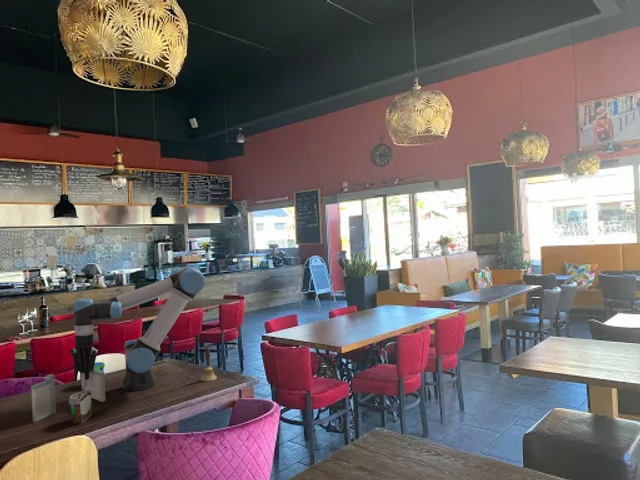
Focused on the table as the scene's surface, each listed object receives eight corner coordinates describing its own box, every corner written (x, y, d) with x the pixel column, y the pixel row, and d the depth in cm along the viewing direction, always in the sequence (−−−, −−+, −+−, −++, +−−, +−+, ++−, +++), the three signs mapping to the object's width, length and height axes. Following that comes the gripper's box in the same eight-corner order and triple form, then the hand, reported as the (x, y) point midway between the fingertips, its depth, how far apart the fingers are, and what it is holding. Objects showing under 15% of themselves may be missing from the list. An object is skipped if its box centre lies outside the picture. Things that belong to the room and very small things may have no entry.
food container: (77, 415, 196) (76, 390, 196) (92, 413, 196) (91, 389, 196) (63, 426, 183) (62, 400, 183) (80, 425, 184) (79, 399, 184)
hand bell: (220, 377, 241) (218, 346, 241) (208, 382, 234) (206, 350, 234) (208, 376, 245) (207, 345, 245) (196, 380, 238) (195, 348, 238)
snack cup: (108, 385, 237) (107, 365, 238) (85, 390, 231) (84, 369, 231) (102, 379, 250) (101, 360, 250) (80, 383, 244) (79, 364, 244)
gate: (88, 393, 220) (87, 366, 220) (105, 400, 208) (104, 371, 208) (84, 394, 219) (82, 367, 219) (100, 401, 207) (99, 372, 207)
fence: (89, 396, 221) (87, 361, 222) (37, 421, 190) (35, 381, 190) (84, 396, 222) (82, 361, 222) (31, 421, 190) (30, 381, 191)
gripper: (65, 335, 209) (66, 388, 209) (91, 336, 207) (92, 390, 207) (77, 332, 216) (78, 383, 216) (102, 332, 214) (103, 384, 214)
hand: (84, 386), depth 212 cm, fingers closed
